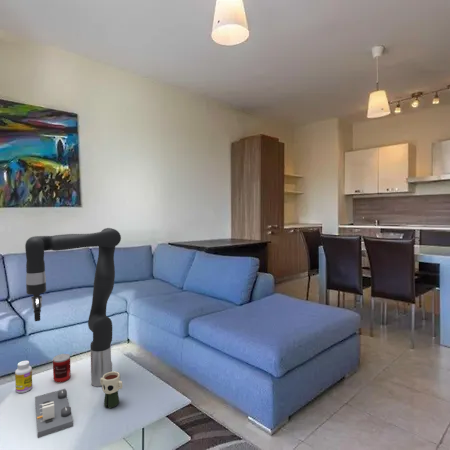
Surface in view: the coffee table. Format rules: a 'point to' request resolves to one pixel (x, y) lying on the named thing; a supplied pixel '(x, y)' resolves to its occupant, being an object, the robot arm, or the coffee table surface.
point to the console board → (60, 412)
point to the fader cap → (48, 410)
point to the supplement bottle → (23, 377)
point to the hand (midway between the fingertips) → (37, 320)
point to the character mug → (111, 388)
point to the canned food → (61, 368)
